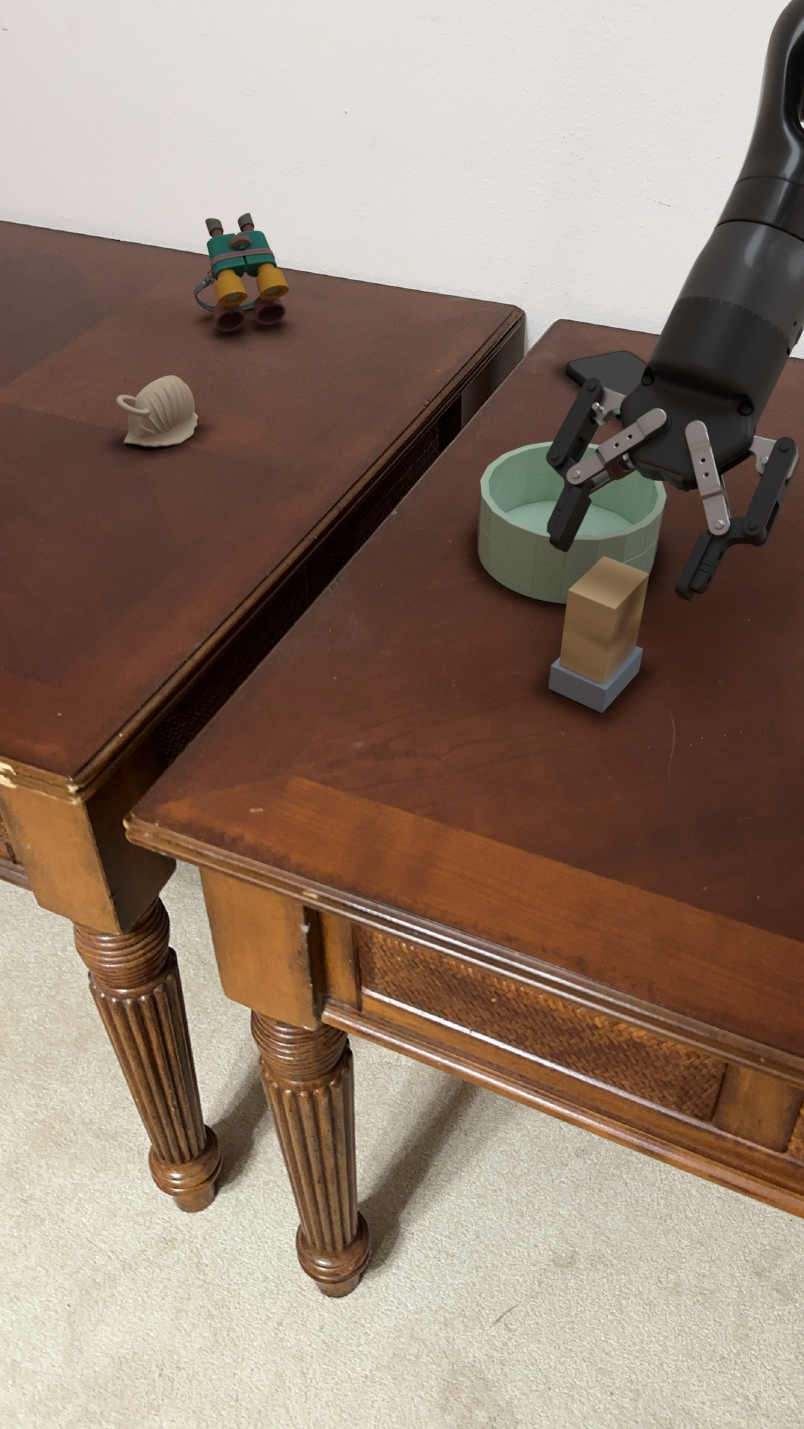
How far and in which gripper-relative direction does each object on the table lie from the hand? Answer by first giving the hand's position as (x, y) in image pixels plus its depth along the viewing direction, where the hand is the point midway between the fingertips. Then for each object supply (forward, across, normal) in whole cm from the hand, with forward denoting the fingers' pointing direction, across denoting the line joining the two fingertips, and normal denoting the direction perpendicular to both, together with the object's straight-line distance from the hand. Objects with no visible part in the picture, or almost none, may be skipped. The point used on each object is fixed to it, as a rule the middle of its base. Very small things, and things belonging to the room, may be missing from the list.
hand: (618, 571), depth 67 cm
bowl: (-2, -9, +13) cm, 16 cm away
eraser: (+6, 0, +5) cm, 8 cm away
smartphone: (-20, -16, +31) cm, 40 cm away
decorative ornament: (+2, -46, +10) cm, 47 cm away
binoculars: (-13, -55, +24) cm, 62 cm away
